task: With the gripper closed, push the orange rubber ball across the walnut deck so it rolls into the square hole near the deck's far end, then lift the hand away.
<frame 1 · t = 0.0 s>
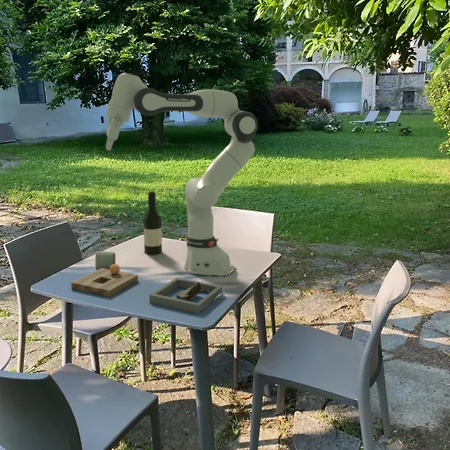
hand: (107, 148, 175), 52 cm above the table, tool tilted 20°, fingers open, 8 cm apart
rubber ball: (114, 269, 180), point 4 cm above the table, touching walnut deck
rock sample: (186, 298, 165), on the table
slate dish rim: (186, 298, 165), on the table
wine bottle: (153, 252, 217), on the table
ceramic mug: (105, 267, 196), on the table
walnut deck: (105, 284, 176), on the table
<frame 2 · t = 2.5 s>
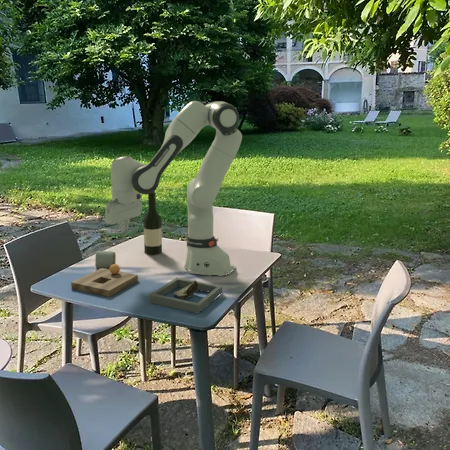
hand: (124, 230, 183), 19 cm above the table, tool pointing down, fingers closed
rock sample: (183, 297, 166), on the table
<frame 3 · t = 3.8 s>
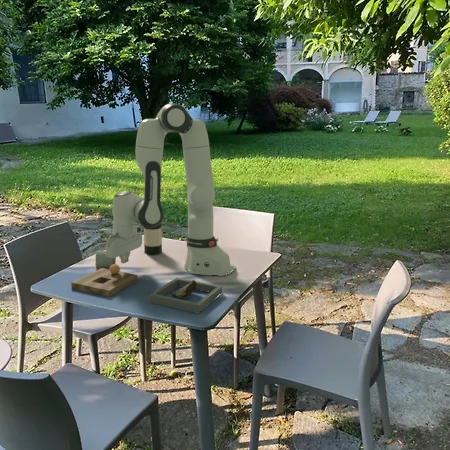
hand: (124, 262, 187), 5 cm above the table, tool pointing down, fingers closed
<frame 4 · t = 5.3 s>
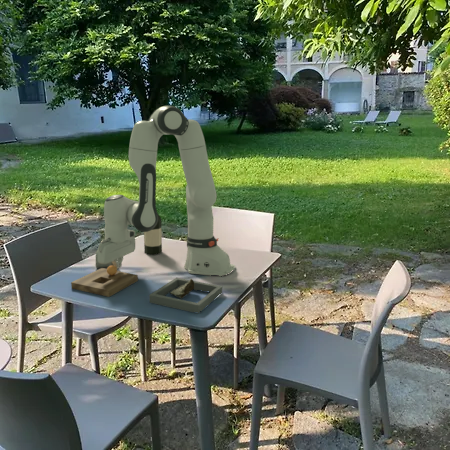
hand: (117, 267, 182), 4 cm above the table, tool pointing down, fingers closed
rubber ball: (111, 270, 179), point 4 cm above the table, tilted 47°, touching walnut deck
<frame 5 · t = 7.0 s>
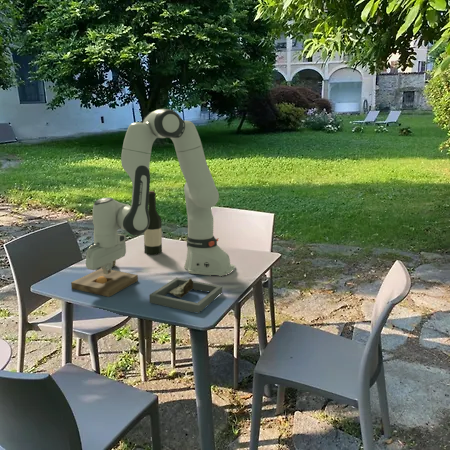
hand: (107, 273, 176), 4 cm above the table, tool pointing down, fingers closed
rubber ball: (101, 281, 174), point 2 cm above the table, tilted 98°
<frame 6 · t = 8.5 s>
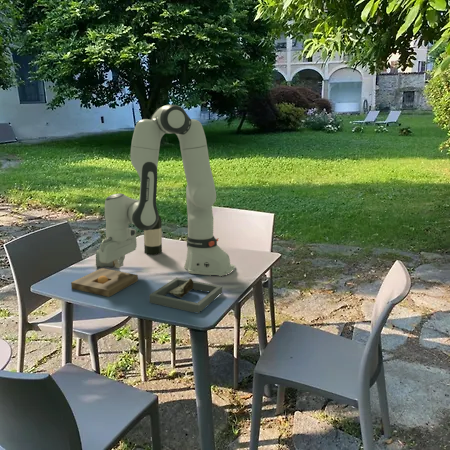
hand: (119, 266, 182), 5 cm above the table, tool pointing down, fingers closed
rubber ball: (103, 280, 175), point 2 cm above the table, tilted 119°
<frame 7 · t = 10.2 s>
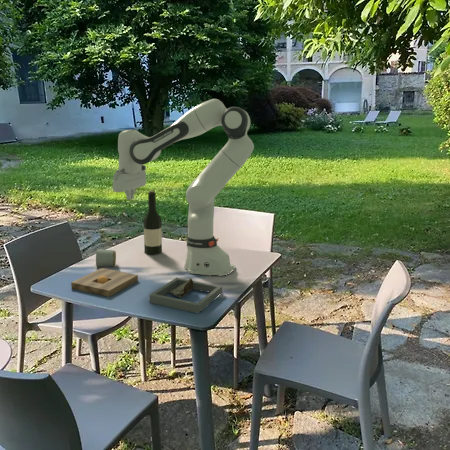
hand: (130, 199, 196), 29 cm above the table, tool pointing down, fingers closed
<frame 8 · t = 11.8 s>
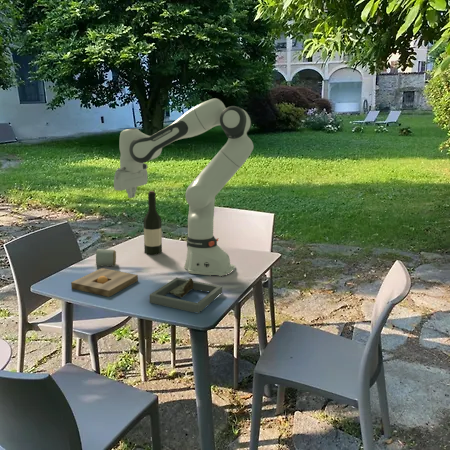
hand: (131, 197, 198), 29 cm above the table, tool pointing down, fingers closed
rock sample: (180, 295, 168), on the table, touching slate dish rim
at the end: rubber ball 0.5 cm from the target spot on the walnut deck, point 2.0 cm above the walnut deck's base; rubber ball touching table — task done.
